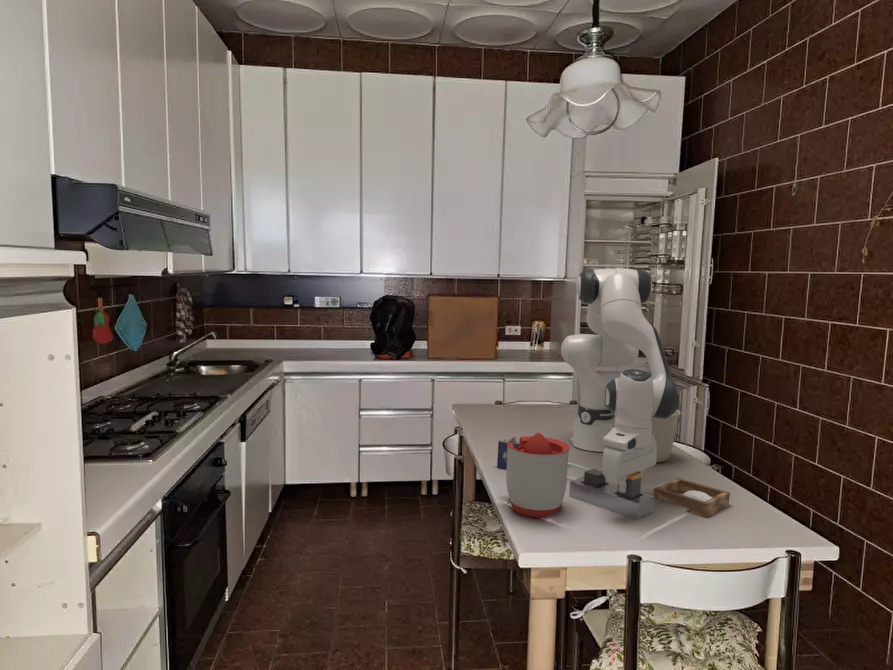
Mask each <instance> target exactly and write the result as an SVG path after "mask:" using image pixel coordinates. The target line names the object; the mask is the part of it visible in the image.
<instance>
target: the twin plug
mask: <svg viewBox="0 0 893 670" xmlns="http://www.w3.org/2000/svg"><path fill="white" fill-rule="evenodd" d="M590 469H591V470H588V471H583V472H584V475H583V476H584V484H586V485H589V486H592V487H595V488H600V487H602V486H605V484H606V481H607V480H606V479H607V478H606V477H604V475H603V473H602V470H599V469H596V468H590Z"/></svg>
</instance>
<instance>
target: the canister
mask: <svg viewBox="0 0 893 670" xmlns="http://www.w3.org/2000/svg"><path fill="white" fill-rule="evenodd" d="M681 414H682V411H680V410H679V408H678V409H677V411H676V412H675V413H674V414H672V415H671V416H670V417H668V418H666V419H663V418H656V417H652V416H651V421H652V433H653V434H654V439H655V440H656V444H657V461H656V463H663V462H665V461H667V460H668V459H669V458H670V456H671V453H672V450H673V446H674V441H675V435H676V431H677V425H678V421H679V416H680V415H681Z"/></svg>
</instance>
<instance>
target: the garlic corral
mask: <svg viewBox="0 0 893 670" xmlns="http://www.w3.org/2000/svg"><path fill="white" fill-rule="evenodd" d="M687 491H700V492H704V493H706V494H707V495H709V496H710V497H713V498H711V499H709V500H707V501H705V502H704V501H701V500H697V499H694V498H691V497H687V496H684V495H683V494H684V493H685V492H687ZM681 493H682V494H681ZM730 495H731V492H730V491H727V490H723V489H719V488H715V487H711V486H708V485H704V484H700V483H697V482H694V481H691V480H686V479H684V478H680V477H676V478H674V479H672V480H670V481H668V482H665V483H663V484H661V485H658V486H655V487H653V496H655V499H657V500H661V501H664V502H667V503H670V504H673V505H675V506H679V507H682V508H686V509H687V510H686V512H687V513H690V514H693V515H697V516H699V517H702V518H705V519H706V518H709V517H710V516H712V515H714V514H716V513H717V512H719V511H721V510H723V509H725V508H726V507H728V506H729V505H730Z"/></svg>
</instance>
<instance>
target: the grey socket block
mask: <svg viewBox="0 0 893 670" xmlns="http://www.w3.org/2000/svg"><path fill="white" fill-rule="evenodd" d="M568 490H569V491H568V493H569V494H568V496H569V497H571V498H574V499H577V500H580V501H582V502H585V503H589V504H590V505H593V506H597V507H599V508H603V509H604V510H605V509H606V510H608V511H610V512H614V513H616V514H620V515H622V516H625V517H628V518H630V519H631V518H632V519H633V520H640V519H642V518H645V517H646V516H648V515H650V514H652V513H654V512H655V501H656V498H655V496H654V494H649V493H647V492H643V491H640V497H638V498H635V499H633V500H632V499H629V498H626V497H623V496H620V495H617V492H618V483H614V482H612V481H611V482H610V481H608V480H606V484H605V486H602V487H600V488H595V487H592V486H589V485H586V484H584V475H583V476H580V477H578V478H575V480H572V481H569V489H568Z"/></svg>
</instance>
